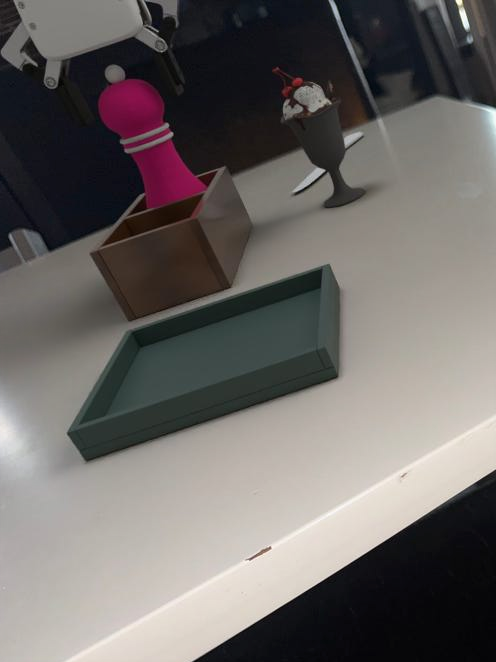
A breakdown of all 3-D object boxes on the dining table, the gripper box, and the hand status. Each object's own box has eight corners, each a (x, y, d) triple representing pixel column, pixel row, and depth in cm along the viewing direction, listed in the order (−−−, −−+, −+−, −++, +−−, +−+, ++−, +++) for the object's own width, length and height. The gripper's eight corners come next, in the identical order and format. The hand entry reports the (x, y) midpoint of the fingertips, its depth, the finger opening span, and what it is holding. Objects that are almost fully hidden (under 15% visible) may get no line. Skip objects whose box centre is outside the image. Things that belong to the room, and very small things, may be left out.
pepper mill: (198, 268, 79) (97, 71, 69) (159, 268, 83) (59, 82, 73) (249, 237, 83) (161, 48, 74) (209, 238, 88) (121, 59, 78)
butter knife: (366, 129, 113) (348, 134, 113) (304, 188, 93) (283, 193, 94) (367, 132, 113) (349, 137, 114) (306, 191, 93) (285, 196, 94)
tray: (85, 461, 49) (65, 433, 48) (140, 354, 63) (125, 330, 62) (338, 376, 49) (325, 346, 48) (339, 288, 63) (329, 263, 62)
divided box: (128, 321, 71) (88, 253, 67) (169, 251, 88) (139, 194, 84) (231, 287, 71) (196, 217, 67) (252, 224, 88) (226, 165, 84)
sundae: (305, 214, 85) (248, 77, 78) (335, 190, 90) (284, 60, 83) (354, 207, 82) (299, 63, 75) (382, 182, 87) (333, 46, 80)
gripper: (139, -112, 71) (221, 76, 79) (-40, -53, 71) (62, 130, 79) (118, -120, 64) (210, 87, 72) (-79, -54, 64) (36, 145, 72)
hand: (133, 109), depth 76 cm, fingers open, 9 cm apart
